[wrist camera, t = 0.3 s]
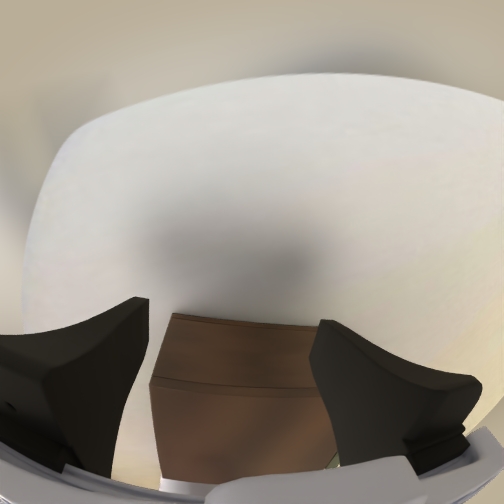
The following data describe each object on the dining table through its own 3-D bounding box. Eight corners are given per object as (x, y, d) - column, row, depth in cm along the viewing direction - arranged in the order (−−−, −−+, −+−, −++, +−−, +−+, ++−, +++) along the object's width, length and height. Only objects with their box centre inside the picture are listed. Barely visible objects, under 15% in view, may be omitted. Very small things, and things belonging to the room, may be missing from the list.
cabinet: (332, 327, 23) (373, 391, 15) (297, 419, 26) (315, 480, 18) (172, 312, 21) (148, 384, 13) (172, 412, 24) (162, 478, 16)
